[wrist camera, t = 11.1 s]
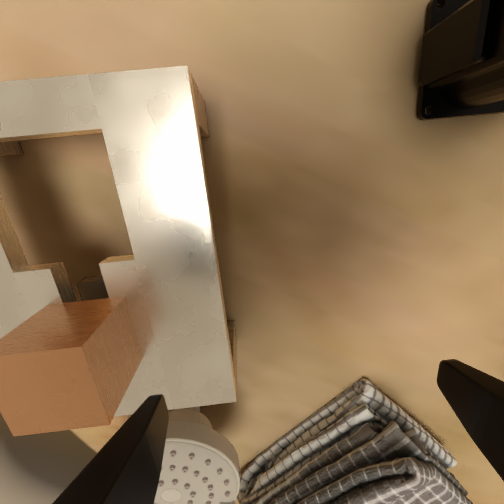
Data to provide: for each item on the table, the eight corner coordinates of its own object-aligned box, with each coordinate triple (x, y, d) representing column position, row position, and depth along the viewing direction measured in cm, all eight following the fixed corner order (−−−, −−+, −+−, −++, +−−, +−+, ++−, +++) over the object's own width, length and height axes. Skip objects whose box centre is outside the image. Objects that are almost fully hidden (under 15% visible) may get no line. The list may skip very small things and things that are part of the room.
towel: (230, 468, 27) (227, 581, 20) (369, 367, 24) (428, 458, 16) (318, 524, 31) (343, 637, 24) (447, 445, 28) (523, 546, 20)
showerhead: (215, 559, 19) (78, 534, 17) (221, 455, 26) (123, 430, 24) (271, 478, 17) (118, 440, 15) (261, 388, 23) (155, 353, 22)
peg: (147, 270, 17) (81, 346, 10) (160, 323, 18) (109, 424, 11) (85, 277, 17) (-28, 359, 9) (102, 329, 18) (13, 436, 11)
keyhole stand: (204, 102, 16) (187, 65, 10) (236, 340, 22) (236, 401, 16) (-23, 122, 16) (-170, 96, 10) (70, 359, 21) (9, 429, 16)
